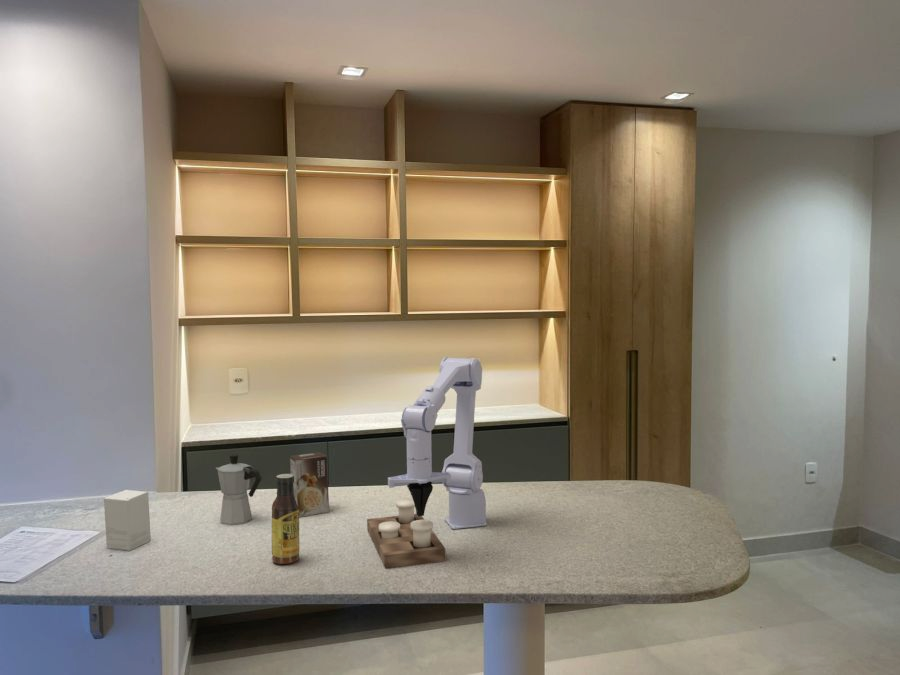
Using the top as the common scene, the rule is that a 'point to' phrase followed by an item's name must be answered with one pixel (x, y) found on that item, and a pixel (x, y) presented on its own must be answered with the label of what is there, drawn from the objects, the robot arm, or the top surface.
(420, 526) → the knob camera side
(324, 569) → the top surface
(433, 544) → the knob panel
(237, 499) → the coffee maker
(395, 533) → the knob middle
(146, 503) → the supplement box
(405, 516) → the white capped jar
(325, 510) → the coffee box
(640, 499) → the top surface
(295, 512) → the sauce bottle
